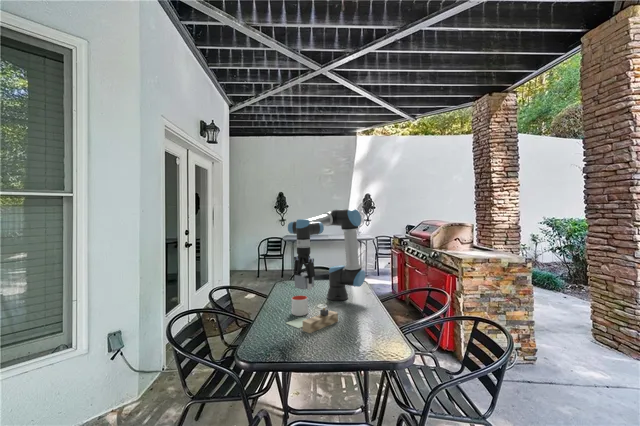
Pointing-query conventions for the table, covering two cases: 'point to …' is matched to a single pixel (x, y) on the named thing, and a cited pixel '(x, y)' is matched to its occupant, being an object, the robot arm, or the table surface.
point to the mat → (297, 322)
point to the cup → (299, 305)
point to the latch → (324, 312)
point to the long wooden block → (319, 322)
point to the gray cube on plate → (302, 281)
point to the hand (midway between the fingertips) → (304, 288)
